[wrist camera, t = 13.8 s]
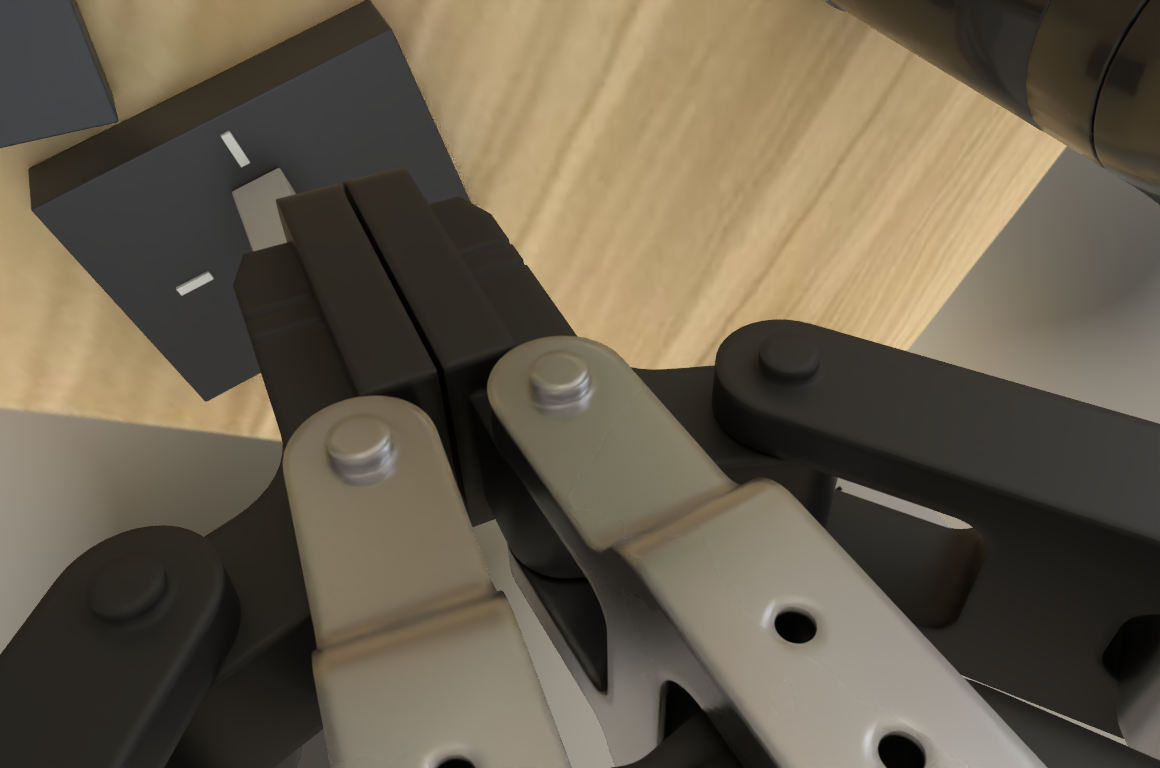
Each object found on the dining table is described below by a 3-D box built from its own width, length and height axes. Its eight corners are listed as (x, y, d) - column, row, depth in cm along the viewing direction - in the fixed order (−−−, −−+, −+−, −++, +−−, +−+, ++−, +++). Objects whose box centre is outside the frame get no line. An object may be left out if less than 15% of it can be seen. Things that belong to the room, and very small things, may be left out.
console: (368, -2, 37) (392, 30, 35) (469, 215, 45) (493, 251, 43) (27, 168, 35) (31, 212, 33) (195, 360, 43) (206, 405, 41)
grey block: (230, 191, 36) (258, 267, 32) (279, 166, 36) (311, 239, 33) (301, 292, 40) (332, 370, 36) (344, 270, 40) (379, 345, 37)
